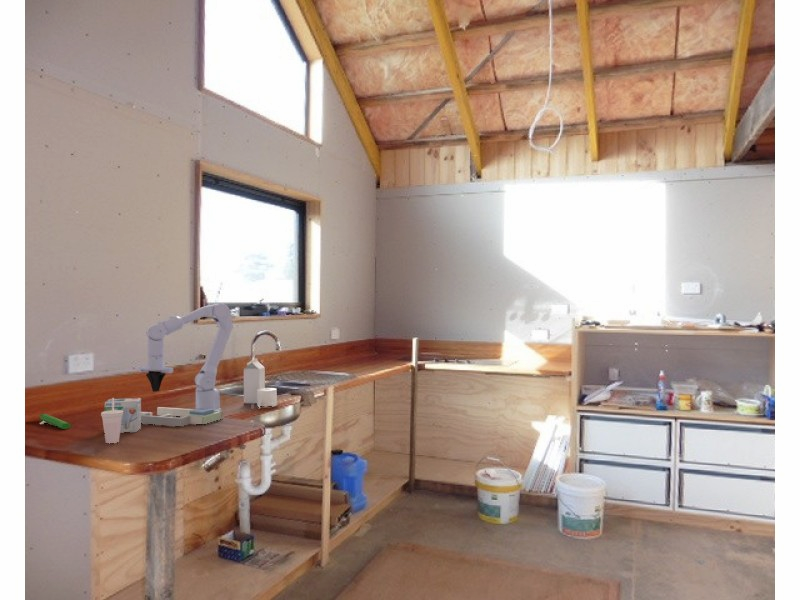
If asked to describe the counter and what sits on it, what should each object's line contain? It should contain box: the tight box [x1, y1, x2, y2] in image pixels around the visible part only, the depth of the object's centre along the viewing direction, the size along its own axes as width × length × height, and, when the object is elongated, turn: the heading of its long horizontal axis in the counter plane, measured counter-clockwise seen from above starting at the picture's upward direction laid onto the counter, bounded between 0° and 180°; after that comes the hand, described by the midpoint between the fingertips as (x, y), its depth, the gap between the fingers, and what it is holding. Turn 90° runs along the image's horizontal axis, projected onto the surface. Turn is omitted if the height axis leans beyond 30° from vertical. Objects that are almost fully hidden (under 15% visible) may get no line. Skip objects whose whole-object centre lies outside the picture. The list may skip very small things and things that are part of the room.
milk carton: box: [243, 357, 266, 404], centre depth 255 cm, size 7×7×19 cm
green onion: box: [39, 413, 72, 430], centre depth 212 cm, size 5×3×30 cm
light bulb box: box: [104, 397, 142, 434], centre depth 200 cm, size 11×7×11 cm, turn 105°
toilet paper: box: [256, 387, 278, 410], centre depth 246 cm, size 8×11×7 cm
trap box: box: [141, 406, 223, 427], centre depth 216 cm, size 16×29×3 cm, turn 72°
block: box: [190, 408, 214, 416], centre depth 215 cm, size 6×6×4 cm
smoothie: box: [100, 397, 123, 445], centre depth 184 cm, size 6×6×14 cm
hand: (155, 391), depth 224 cm, fingers closed
